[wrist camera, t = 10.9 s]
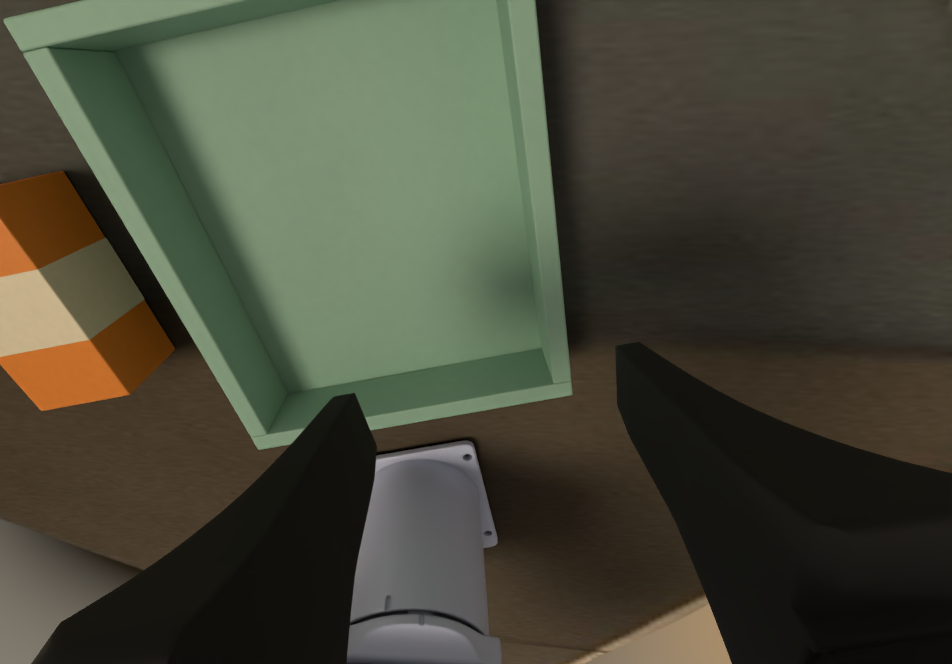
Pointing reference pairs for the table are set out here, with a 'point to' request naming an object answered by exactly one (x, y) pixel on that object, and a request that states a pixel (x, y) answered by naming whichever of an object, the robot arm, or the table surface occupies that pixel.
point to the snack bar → (68, 301)
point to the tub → (328, 193)
